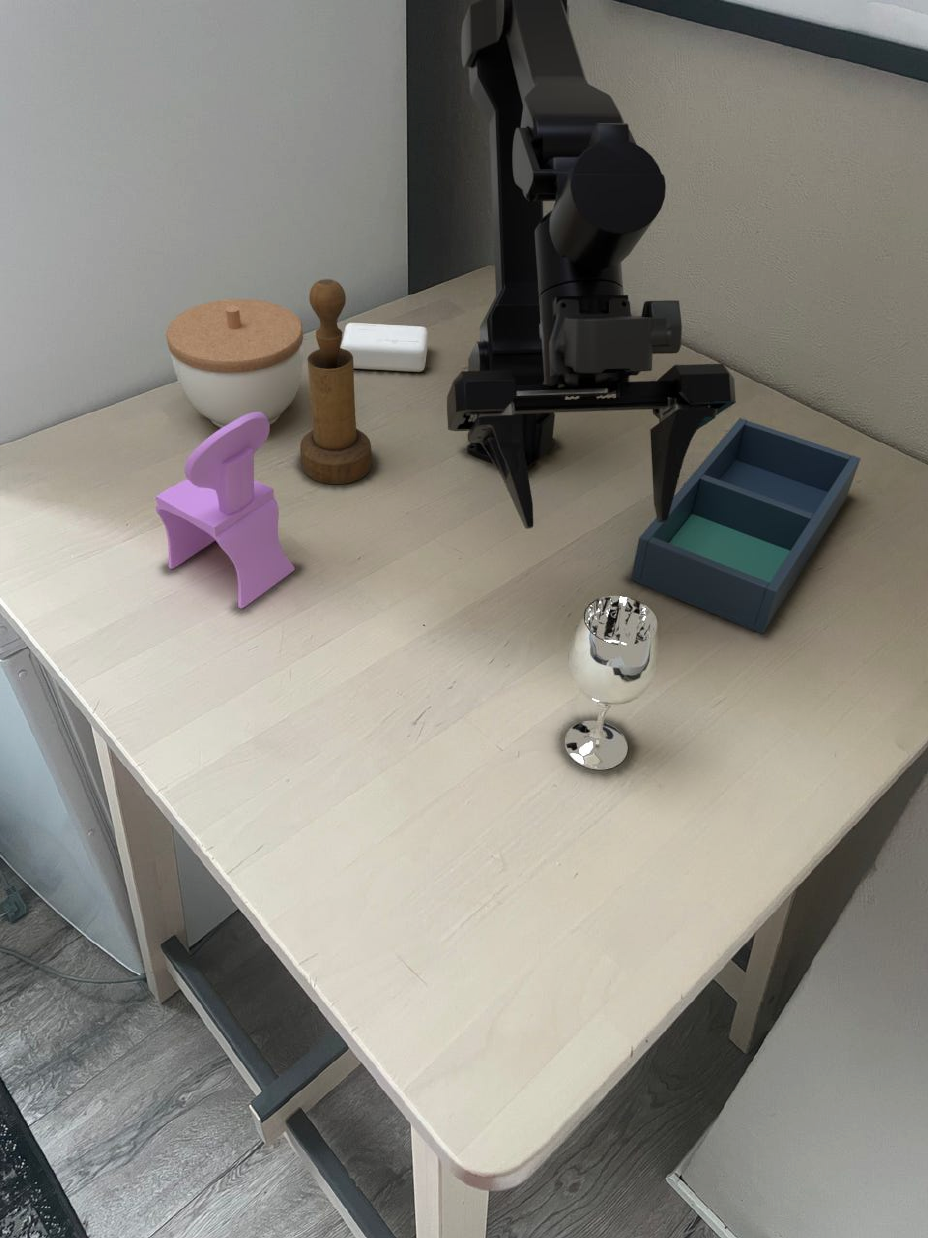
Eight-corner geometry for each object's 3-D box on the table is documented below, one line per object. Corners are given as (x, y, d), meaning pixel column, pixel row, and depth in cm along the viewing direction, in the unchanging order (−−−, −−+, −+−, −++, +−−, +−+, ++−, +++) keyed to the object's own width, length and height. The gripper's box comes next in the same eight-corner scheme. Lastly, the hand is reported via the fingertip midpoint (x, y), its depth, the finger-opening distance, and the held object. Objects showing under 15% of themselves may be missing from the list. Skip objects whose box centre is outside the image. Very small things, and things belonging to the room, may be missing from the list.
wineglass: (583, 788, 70) (607, 663, 61) (540, 730, 73) (557, 605, 65) (653, 760, 72) (685, 635, 64) (607, 704, 75) (632, 580, 67)
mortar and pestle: (288, 473, 95) (271, 289, 83) (321, 439, 100) (309, 258, 87) (352, 491, 94) (344, 305, 81) (383, 455, 98) (380, 274, 86)
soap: (428, 349, 114) (428, 324, 112) (424, 374, 110) (425, 348, 108) (346, 345, 114) (345, 319, 112) (340, 369, 110) (339, 344, 108)
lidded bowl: (196, 457, 97) (178, 350, 89) (168, 392, 105) (150, 289, 97) (325, 432, 101) (318, 328, 93) (288, 371, 109) (279, 271, 101)
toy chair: (228, 523, 89) (205, 368, 79) (303, 563, 86) (290, 406, 76) (155, 571, 84) (120, 412, 74) (232, 616, 81) (207, 455, 71)
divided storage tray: (630, 580, 86) (638, 537, 83) (729, 457, 100) (739, 417, 97) (762, 634, 82) (776, 591, 79) (846, 498, 96) (860, 457, 93)
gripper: (458, 250, 61) (474, 514, 60) (760, 246, 63) (779, 500, 62) (439, 314, 72) (453, 537, 71) (697, 308, 74) (713, 524, 73)
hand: (596, 524), depth 69 cm, fingers open, 9 cm apart
